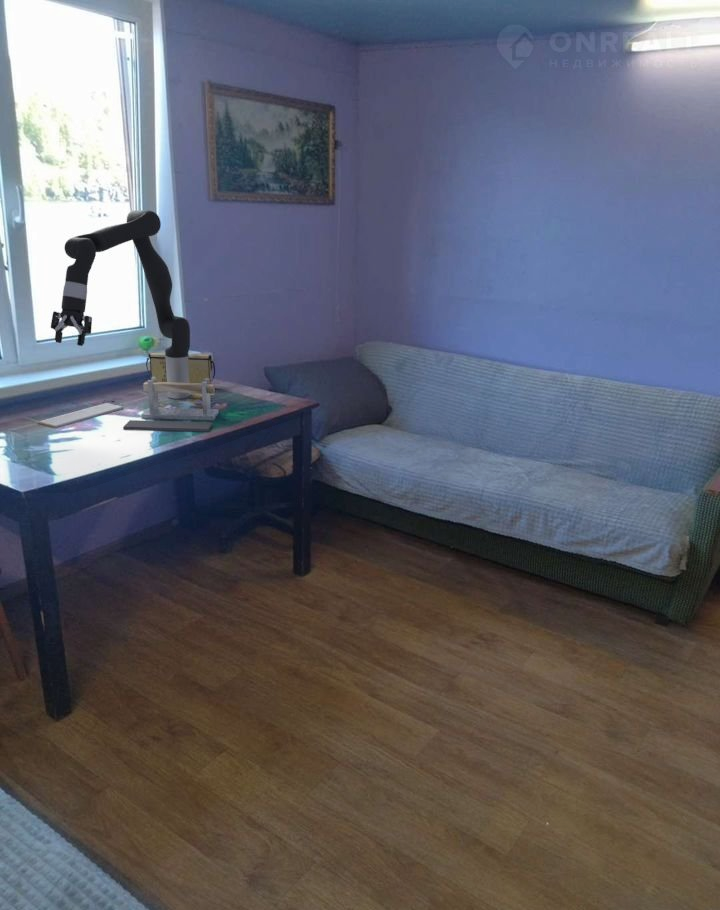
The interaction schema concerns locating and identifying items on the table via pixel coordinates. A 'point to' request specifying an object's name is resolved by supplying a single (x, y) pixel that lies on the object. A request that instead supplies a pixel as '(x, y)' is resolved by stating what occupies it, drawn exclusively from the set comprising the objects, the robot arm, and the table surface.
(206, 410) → the hook rack
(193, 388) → the birch rail
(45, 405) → the table surface
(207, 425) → the rubber mat
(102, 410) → the baseboard molding
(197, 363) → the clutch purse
